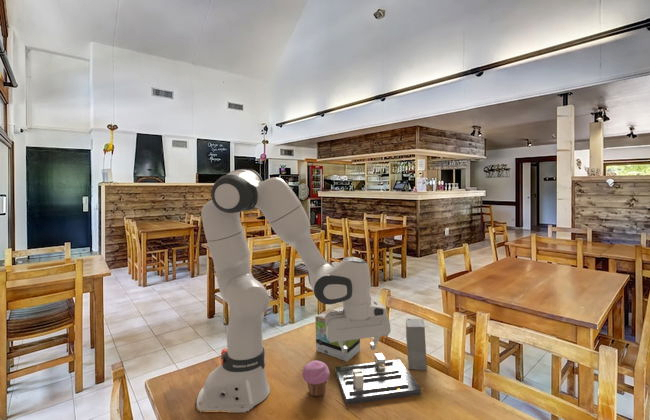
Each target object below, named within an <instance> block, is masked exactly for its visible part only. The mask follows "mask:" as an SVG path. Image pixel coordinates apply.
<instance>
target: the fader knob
mask: <svg viewBox="0 0 650 420" xmlns="http://www.w3.org/2000/svg"><path fill="white" fill-rule="evenodd" d="M353 384H354V386H355V389H356V390H358V389H364V383H363V374H362V371H361V370H360V369H353Z"/></svg>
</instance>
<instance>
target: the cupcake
mask: <svg viewBox="0 0 650 420" xmlns="http://www.w3.org/2000/svg"><path fill="white" fill-rule="evenodd" d="M330 375H331V372H330V368H329V367H328V365H327V364H326V363H325V362H323V361H321V360H316V359H315V360H312V361H310V362H307V363H306V364H305V365H304V367H303V370H302V378H303V380H304V381H305V383H307V388H308V391H309V394H310V395H311V396H313V397H315V396H316V397H317V396H323V395H325V394H326V387H327V383H328V381H329V379H330Z"/></svg>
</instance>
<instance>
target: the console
mask: <svg viewBox="0 0 650 420" xmlns="http://www.w3.org/2000/svg"><path fill="white" fill-rule="evenodd" d="M353 369H360V370H361V371H362V374H363V383H364V389H358V390H356V389H355V386H354V384H353ZM334 373H335V376H336V378H337V381H338V384H339V387H340V390H341V393H342V396H343V399H344V402H345V404H346V406H348V405H357V404H364V403H372V402H379V401H386V400H392V399H393V400H395V399H399V398H409V397H414V396H422V388H421V386H420V385H419V384H418V383H417V381H416V379H415V378H414V377H413V376H412V374H411V373H410V371H409V370H408V369H407V368H406V366H405V365H404V364H403V362H402V360H401V359H391V360H390V359H389V360H386V358H385V356H384V354H383V353H382V352H378V353H374V362H372V361H371V362H365V363H364V362H363V363H356V364H347V365H338V366H335V367H334Z"/></svg>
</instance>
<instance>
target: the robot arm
mask: <svg viewBox="0 0 650 420" xmlns="http://www.w3.org/2000/svg"><path fill="white" fill-rule="evenodd" d="M210 195H211V200H208V201H207V202H205V204H204V205H203V206H202V208H201V212H200V213H201V221H202V226H203V227H202V228H203V232H204V235H205V236H204V237H205V239H206V242H207V246H208V248H209V253H210V254H211V258H212V263H213V265H214V270H215V277H216V281H217V286H218V289H219V293H220V296H221V298H222V299H223V300H224V302H225V303H226V304H227V306H228V310H229V318H228V325H227V327H226V347H225V348H222V349H221V352H220V355H221V357H220V362H221V364H219V365H218V366H217V367H216V368H215V369H213V370H212V371H211V372H209V374H208V376H207V377H206V380H205V383H204V386H203V387H202V388H201V389H200V390H199V393H198V394H197V398H196V404H197V405H196V409H197V408H198V409H199V410H200V411H216V410H218V411H231V412H230V413H247V412H246V411H248V412H249V410H250V409H251V410H252V409H253V408H254V407H255V406H256V405H258V404H260V403H261V402H263V401H265V400H266V398H267V397H268V396H269V394H270V391H271V388H270V385H269V382H268V378H267V373H266V368H265V367H266V353H265V352H266V351H265V348H264V345H263V344H264V343H263V340H264V339H263V321H264V316H265V312H266V311H267V309H268V307H269V305H270V296H269V293H268V291H267V289H266V288H265V287H266V286H264V284H263V283H261V282H260V281H259V280H257V279H256V278H255V277H254V276H253V275H254V274H253V273H252V271H251V263H250V255H251V253H250V252H251V251H250V249H249V245H248V241H247V238H246V235H245V231H244V228H243V225H242V221H241V215H240V214H241V212H247V211H251V210H253V209H255V208H256V209H257V210H259V211H260V212H261V213H262V214H263V216H264V218H265V219H266V221H267V222H268V224H269V226H270V227H271V229H272V231H274V233H275V234H276V236H278V238H279V239H280V240H281V241H282V242H284V243H286V244H289V245H290V246H292V247H293V249H294V250H295V251H296V252H297V254H298V256H299V257H300V259H301V261H302V263H303V264H304V265H305V267H306V270H307V277H308V282H309V285H310V286H311V289H312V292H313V294H314V296H315V298H316V299H317V300H318V302H320V303H322V304H324V305H334V304H339V303H342V310H336V311H334V312H333V311H331V312H329V313H328V314H326V316H325V324H326V337H327V340H328V341H329V342H338V343H339V345H340V347H341V350H342V354H346V353H347V347H346V346H343V345H342V344H343V341H347V340H355V339H360V340H363V339H369V338H373V340H372V341H371V342H369V345H370V347H369V348H370V349H371V351H374V350H377V344H379V341H380V340H381V339H380V338H381V337H385V336H389V335H390V334H391V322H390V319H389V316H388V311H387V307H385V305H384V304H383V303H382V302H381V301H379V300H378V301H377V300H374V299H372V296H371V291H370V290H371V285H372V284H371V283H372V282H371V272H370V267H369V264H368V262H367V261H366V260H364V259H363V258H359V257H355V256H345V257H344V258H343V259H342V260H341V261H340V262H338V263H337V264H335V265H334V264H332V263H331V262H329V261H328V260H326V259H325V258H324V257H323V255H322V254H321V252H320V249H318V247H317V244H316V243H315V241H314V240H313V238H312V233H311V223H310V222H311V221H310V220H309V217H308V215H307V212H306V210H305V207H304V206H303V204H302V203H301V201H300V199H299V198H298V196H297V194H296V193H295V192H294V190H293V189H292V188H291V187H290V186H289V184H288V183H287V182H286V181H285V180H284V179H283V178H281V177H277V176H276V177H274V176H273V177H269V178H267V179H265V180H263V178H262V176H261V175H260V174H259V173H258V172H257V171H255V170H254V169H251V168H240V169H236V170H232V171H229V172H228V173H226V175H225V174H224V175H222V176H220V177H219V178H217V180H216V181H215V182H214V184H213V185H212V188H211V192H210ZM199 404H202V405H199ZM251 410H250V411H251Z"/></svg>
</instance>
